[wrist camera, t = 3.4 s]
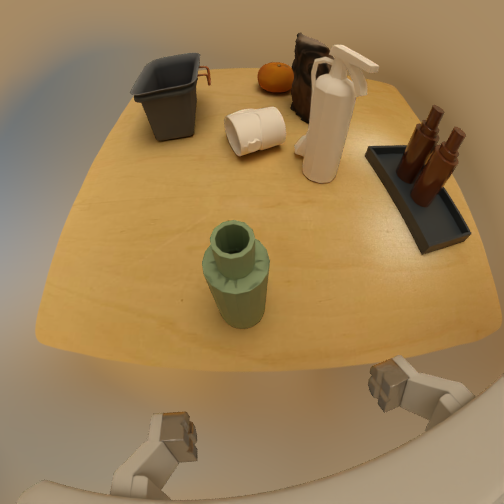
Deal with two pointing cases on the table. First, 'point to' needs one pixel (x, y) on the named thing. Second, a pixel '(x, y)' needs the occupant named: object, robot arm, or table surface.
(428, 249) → the tray
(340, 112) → the fire extinguisher
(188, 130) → the storage bin
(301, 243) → the table surface
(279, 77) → the fruit
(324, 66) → the brown rock chunk
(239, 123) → the mug
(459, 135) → the bottle row
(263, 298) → the green bottle
